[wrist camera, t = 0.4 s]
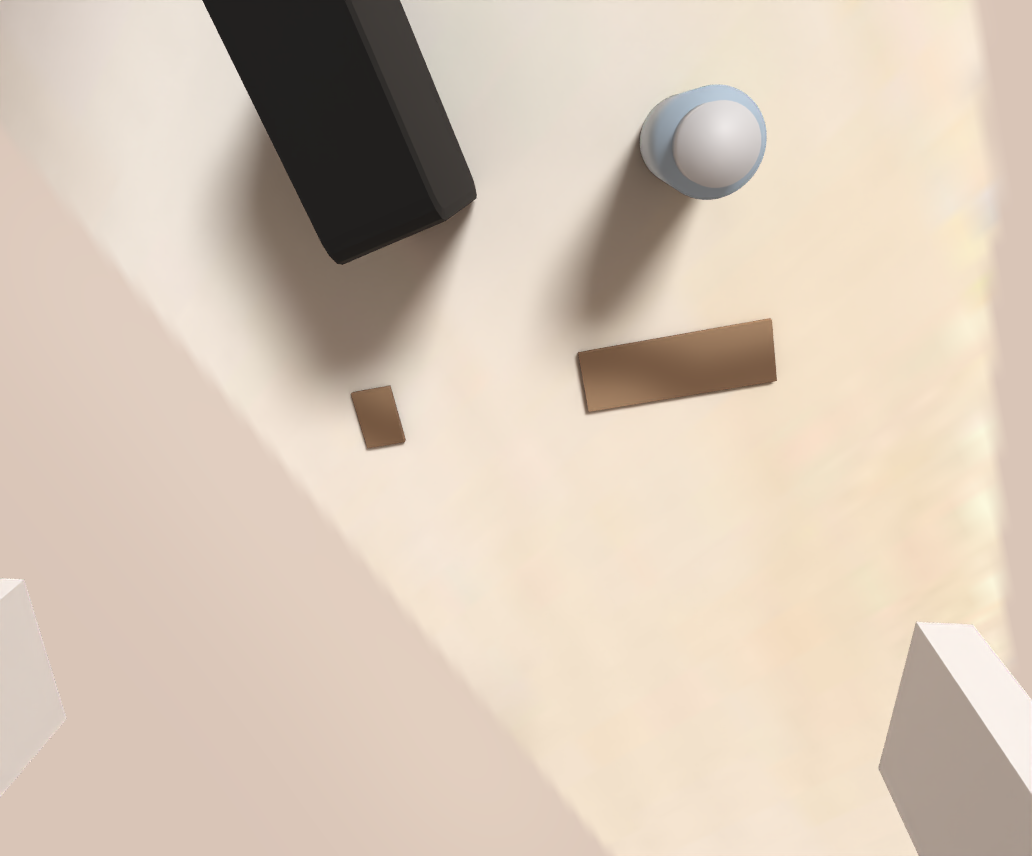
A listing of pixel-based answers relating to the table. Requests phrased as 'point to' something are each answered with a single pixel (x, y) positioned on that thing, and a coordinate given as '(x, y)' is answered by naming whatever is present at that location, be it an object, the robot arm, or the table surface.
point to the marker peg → (704, 141)
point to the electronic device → (349, 116)
